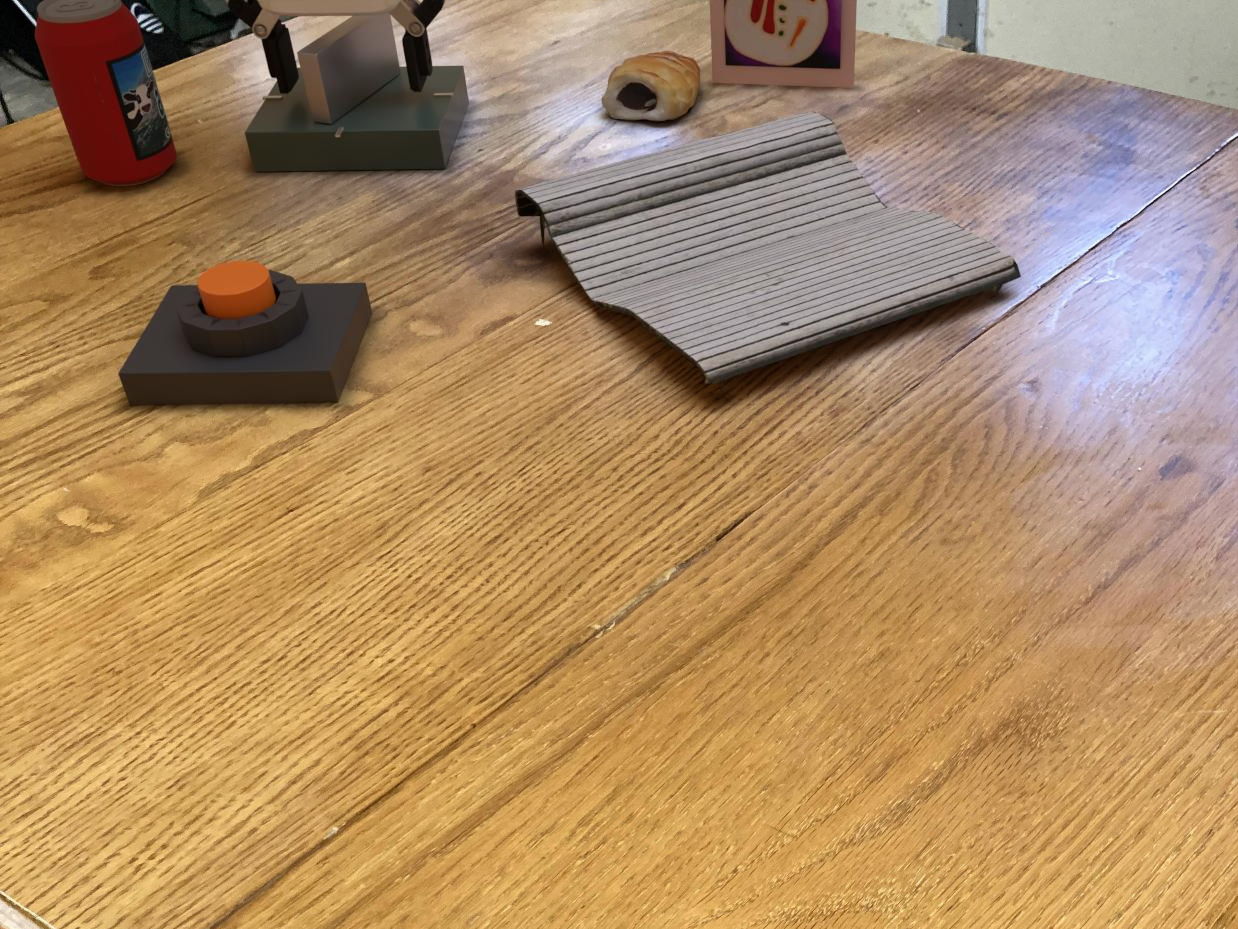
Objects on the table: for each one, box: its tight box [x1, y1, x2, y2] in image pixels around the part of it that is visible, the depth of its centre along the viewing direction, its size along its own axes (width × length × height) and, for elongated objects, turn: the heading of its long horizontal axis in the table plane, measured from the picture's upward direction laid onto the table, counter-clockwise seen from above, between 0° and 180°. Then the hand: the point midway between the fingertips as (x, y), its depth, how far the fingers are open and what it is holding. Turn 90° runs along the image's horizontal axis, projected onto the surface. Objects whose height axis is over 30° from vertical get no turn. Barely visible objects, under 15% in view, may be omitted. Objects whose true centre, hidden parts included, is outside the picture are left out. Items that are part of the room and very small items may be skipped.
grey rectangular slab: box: [296, 13, 401, 124], centre depth 105 cm, size 10×2×5 cm, turn 160°
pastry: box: [600, 50, 701, 122], centre depth 111 cm, size 9×7×4 cm
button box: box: [117, 269, 373, 406], centre depth 84 cm, size 12×10×4 cm
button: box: [196, 260, 276, 319], centre depth 82 cm, size 4×4×2 cm
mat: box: [514, 111, 1022, 398], centre depth 91 cm, size 23×24×5 cm
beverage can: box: [34, 0, 178, 187], centre depth 100 cm, size 7×7×12 cm
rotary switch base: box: [244, 65, 470, 173], centre depth 107 cm, size 14×14×3 cm
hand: (354, 85), depth 106 cm, fingers open, 9 cm apart
